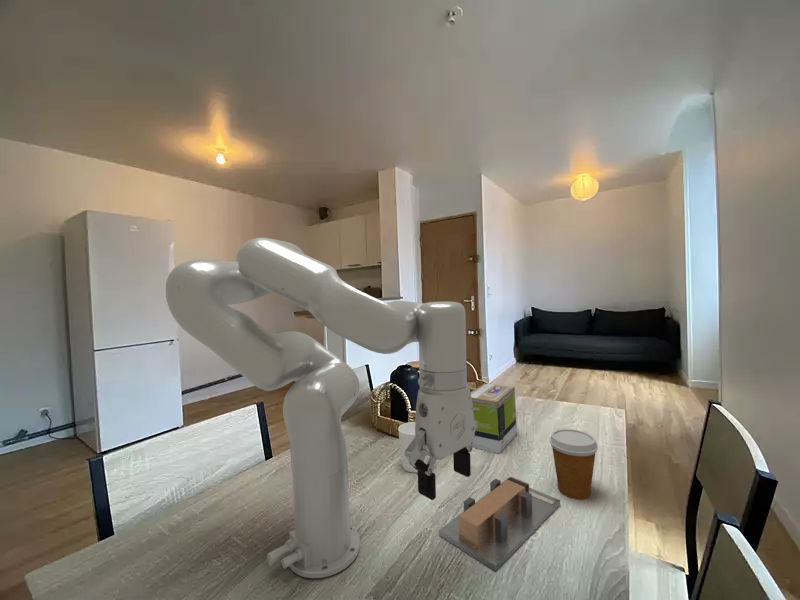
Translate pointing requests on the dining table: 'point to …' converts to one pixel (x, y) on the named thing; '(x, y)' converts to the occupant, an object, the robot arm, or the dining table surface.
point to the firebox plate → (505, 527)
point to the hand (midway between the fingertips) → (445, 483)
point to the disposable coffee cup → (574, 461)
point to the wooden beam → (491, 512)
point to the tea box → (494, 416)
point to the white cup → (405, 439)
